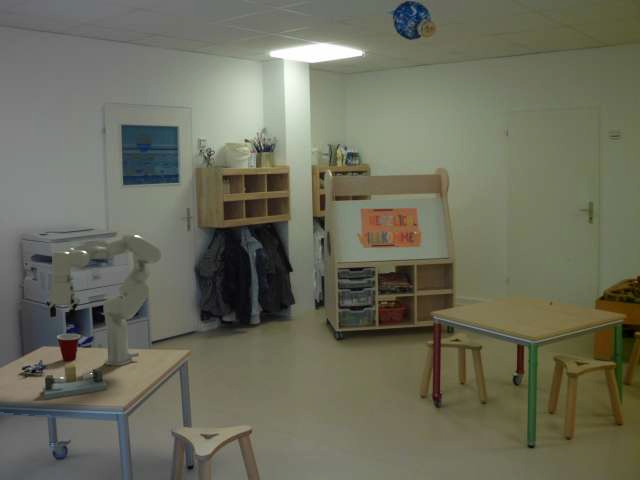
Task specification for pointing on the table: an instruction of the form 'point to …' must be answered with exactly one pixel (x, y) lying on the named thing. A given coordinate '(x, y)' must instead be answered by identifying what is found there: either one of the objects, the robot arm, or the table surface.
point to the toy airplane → (34, 368)
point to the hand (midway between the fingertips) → (62, 317)
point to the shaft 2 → (94, 375)
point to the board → (74, 388)
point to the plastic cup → (68, 346)
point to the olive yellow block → (70, 373)
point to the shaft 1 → (53, 381)
